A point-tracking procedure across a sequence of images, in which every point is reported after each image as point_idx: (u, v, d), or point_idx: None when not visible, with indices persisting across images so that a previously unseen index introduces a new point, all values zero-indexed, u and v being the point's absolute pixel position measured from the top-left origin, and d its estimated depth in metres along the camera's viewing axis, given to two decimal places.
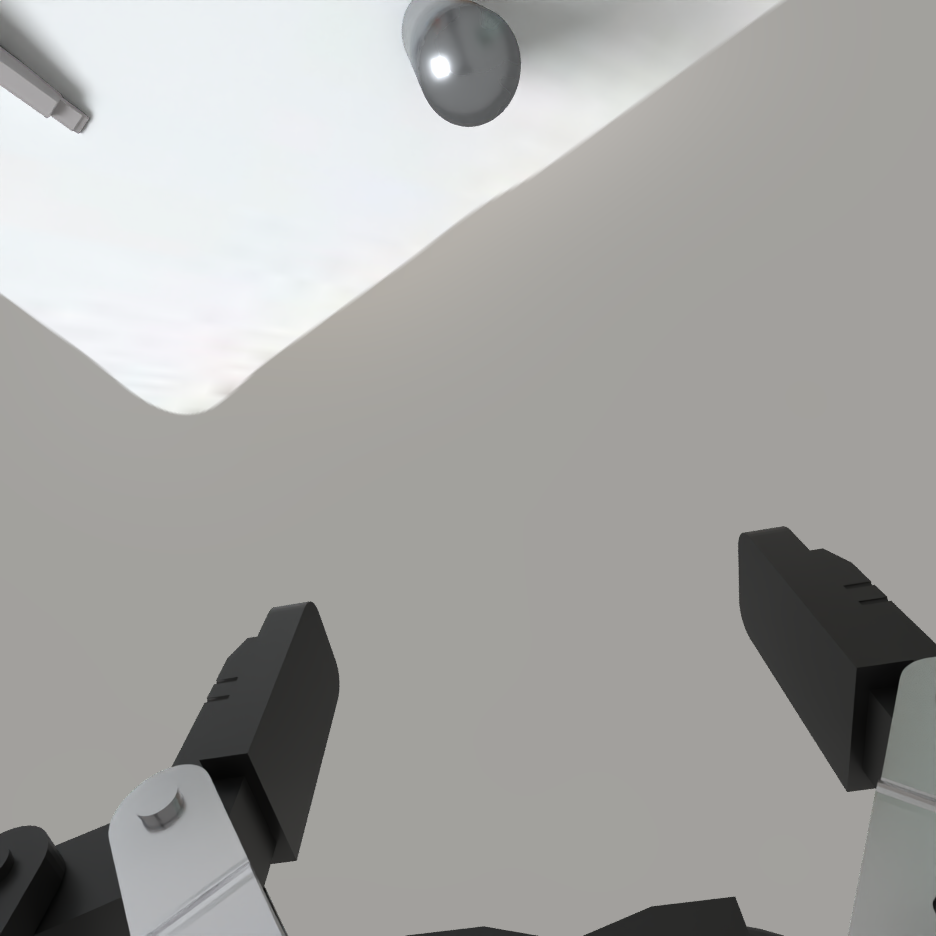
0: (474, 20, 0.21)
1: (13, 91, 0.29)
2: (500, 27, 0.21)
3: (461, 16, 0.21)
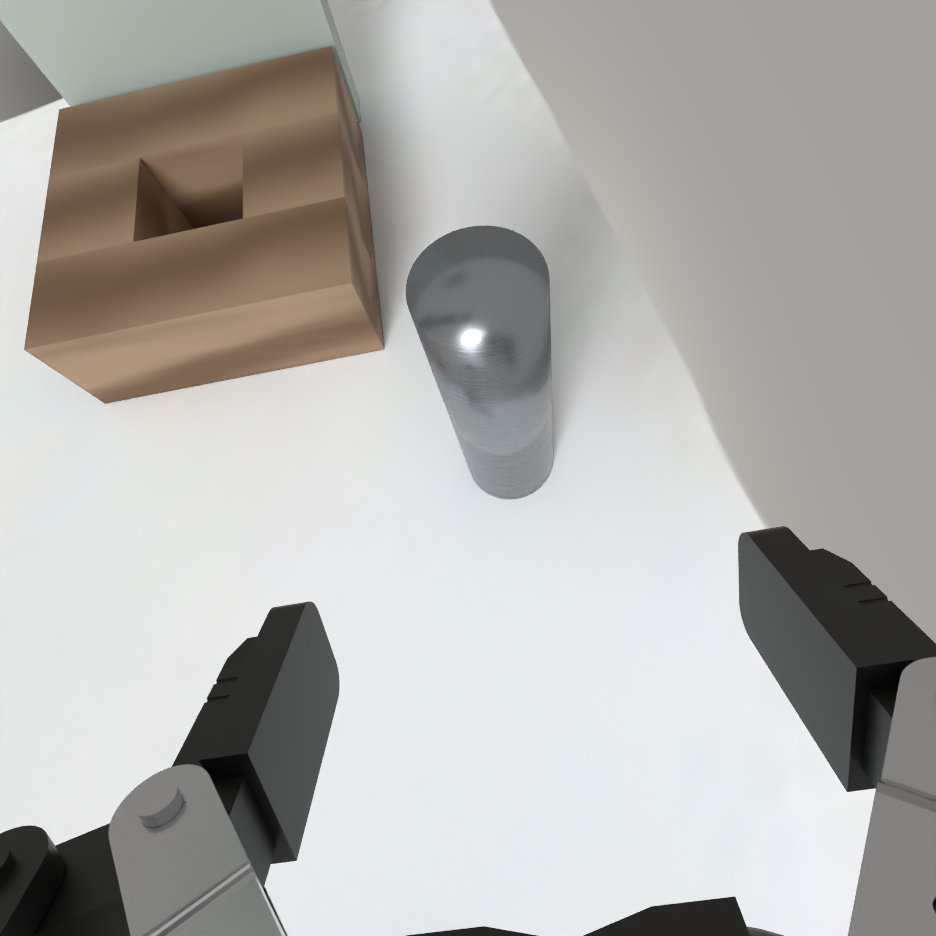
0: (425, 272, 0.16)
1: None
2: (442, 244, 0.16)
3: (416, 285, 0.16)
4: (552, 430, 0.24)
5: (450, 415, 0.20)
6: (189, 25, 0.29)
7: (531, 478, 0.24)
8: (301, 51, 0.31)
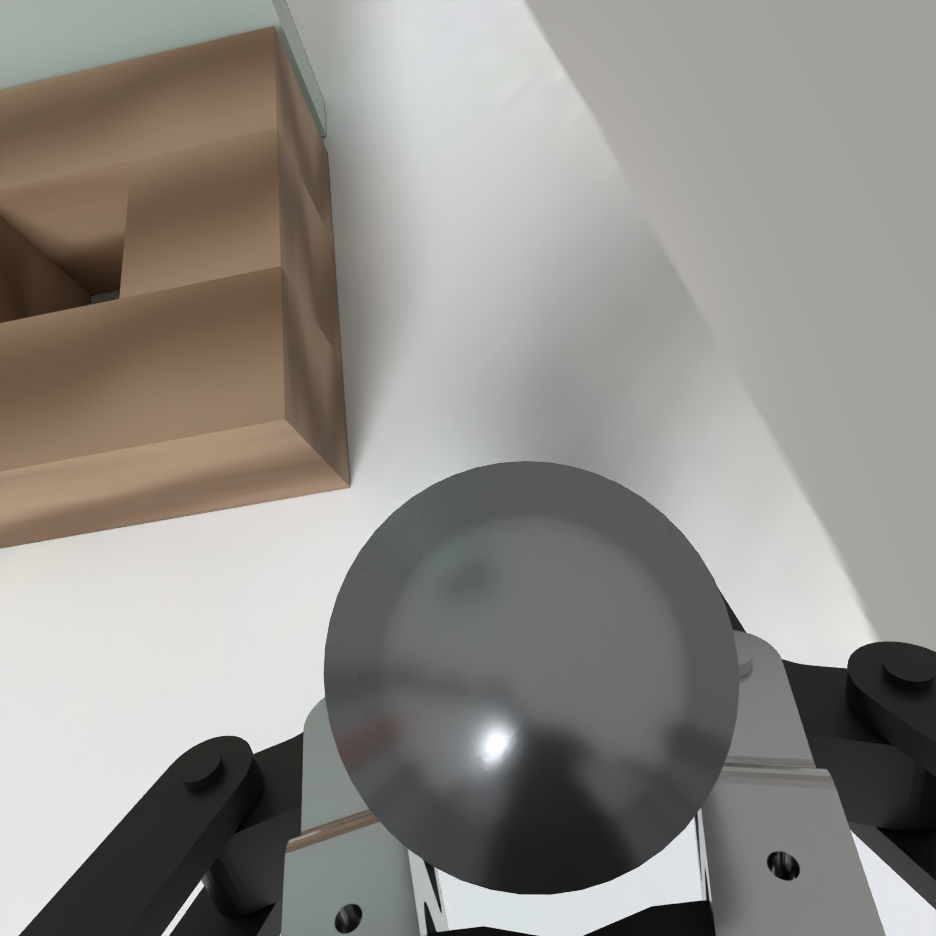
0: (380, 600, 0.06)
1: None
2: (425, 514, 0.06)
3: (354, 643, 0.06)
4: None
5: None
6: None
7: None
8: (231, 34, 0.21)
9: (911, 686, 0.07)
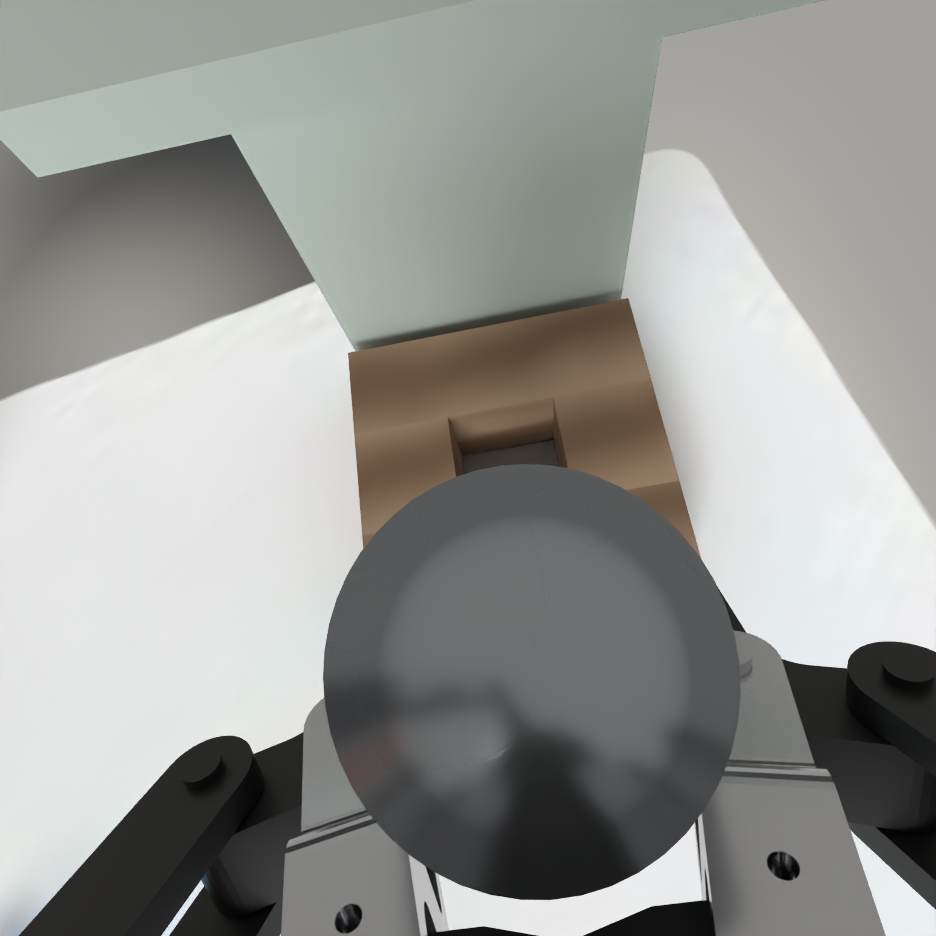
0: (379, 602, 0.06)
1: None
2: (425, 516, 0.06)
3: (354, 646, 0.06)
4: None
5: None
6: (494, 284, 0.30)
7: None
8: (588, 295, 0.31)
9: (911, 686, 0.07)
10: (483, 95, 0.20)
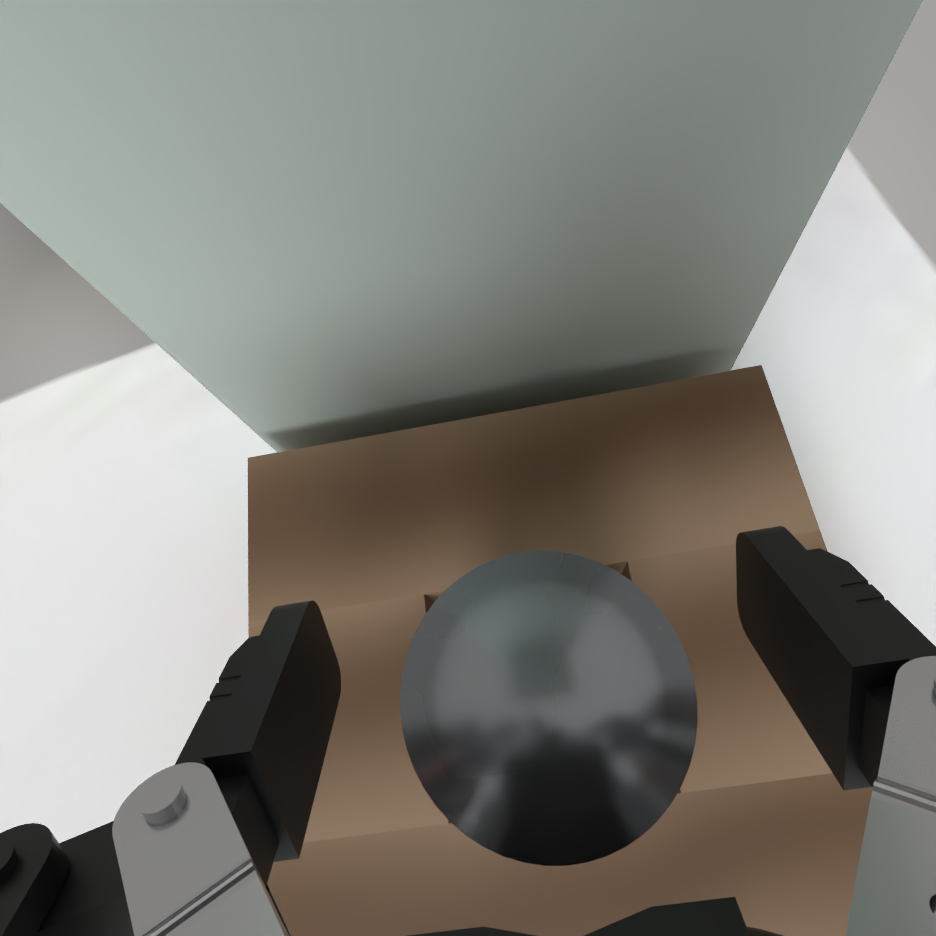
0: (439, 655, 0.08)
1: None
2: (471, 590, 0.08)
3: (421, 687, 0.08)
4: None
5: None
6: (514, 341, 0.16)
7: None
8: (681, 356, 0.17)
9: None
10: None
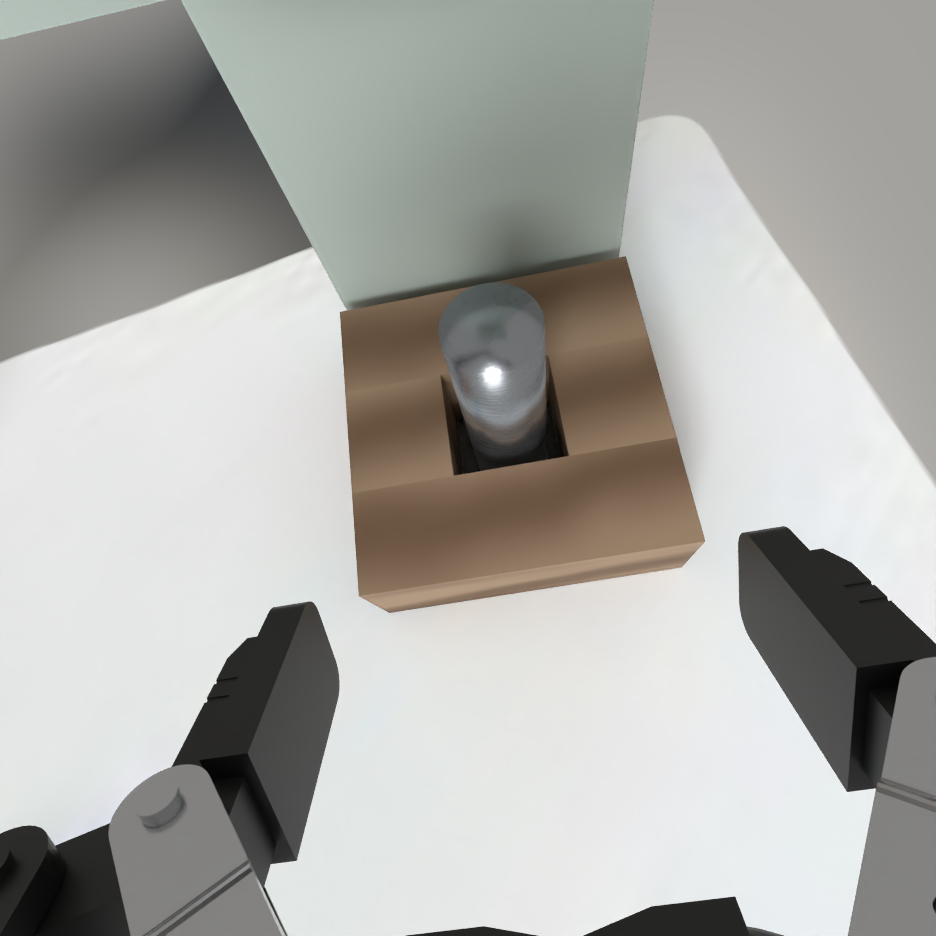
0: (452, 317, 0.21)
1: None
2: (464, 296, 0.22)
3: (446, 327, 0.21)
4: None
5: (466, 422, 0.26)
6: (489, 240, 0.29)
7: None
8: (585, 254, 0.31)
9: None
10: (474, 25, 0.20)
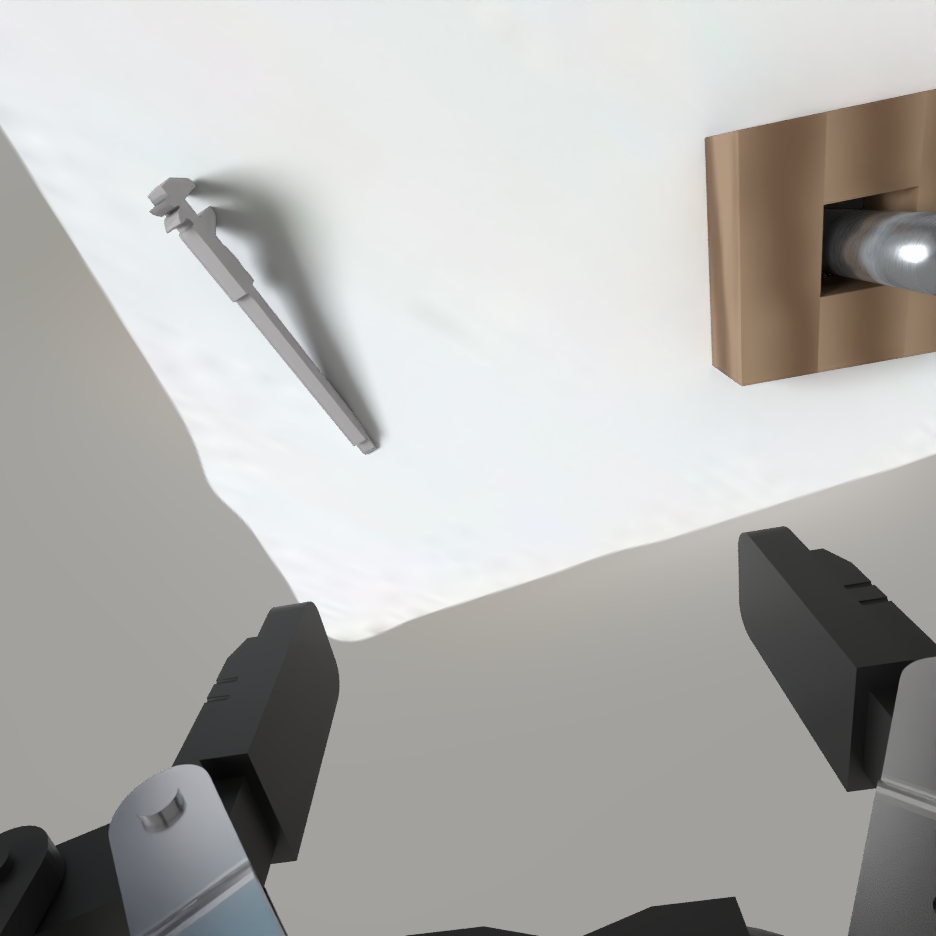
0: None
1: (342, 429, 0.43)
2: None
3: None
4: None
5: (870, 217, 0.33)
6: None
7: None
8: None
9: None
10: None
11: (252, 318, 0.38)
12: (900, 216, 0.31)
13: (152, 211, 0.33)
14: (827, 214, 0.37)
